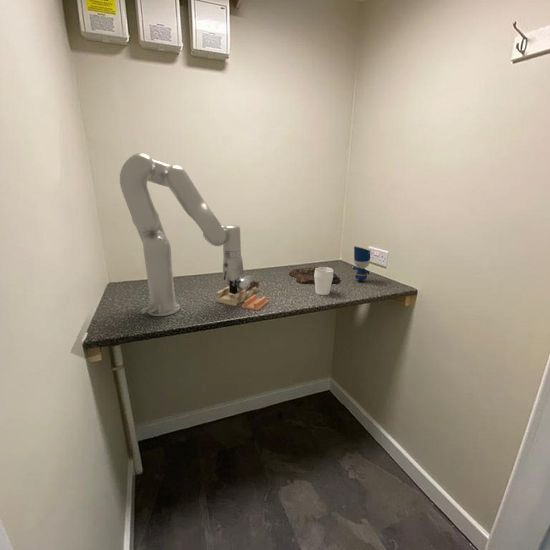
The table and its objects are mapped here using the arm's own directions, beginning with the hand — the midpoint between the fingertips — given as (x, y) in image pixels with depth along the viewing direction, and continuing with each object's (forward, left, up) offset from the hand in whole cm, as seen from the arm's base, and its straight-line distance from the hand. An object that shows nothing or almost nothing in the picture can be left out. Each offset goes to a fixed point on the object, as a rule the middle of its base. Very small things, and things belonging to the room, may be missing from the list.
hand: (233, 293), depth 129 cm
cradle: (-1, -12, -3) cm, 12 cm away
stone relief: (+49, -23, -4) cm, 54 cm away
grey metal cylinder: (+8, 0, -1) cm, 8 cm away
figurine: (+53, -47, -3) cm, 71 cm away
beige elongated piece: (+4, 0, -3) cm, 5 cm away
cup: (+27, -34, -3) cm, 43 cm away
